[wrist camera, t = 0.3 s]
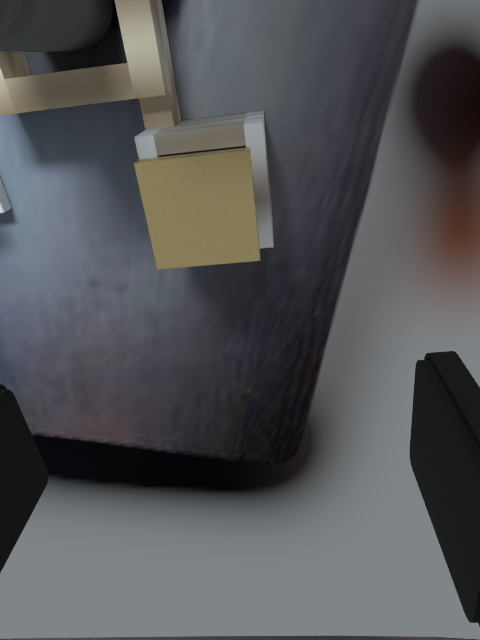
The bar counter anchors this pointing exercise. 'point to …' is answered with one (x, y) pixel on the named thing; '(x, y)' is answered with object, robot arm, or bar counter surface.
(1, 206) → the cradle
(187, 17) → the bar counter surface
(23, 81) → the socket block
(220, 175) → the button
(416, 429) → the robot arm
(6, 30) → the bottle
